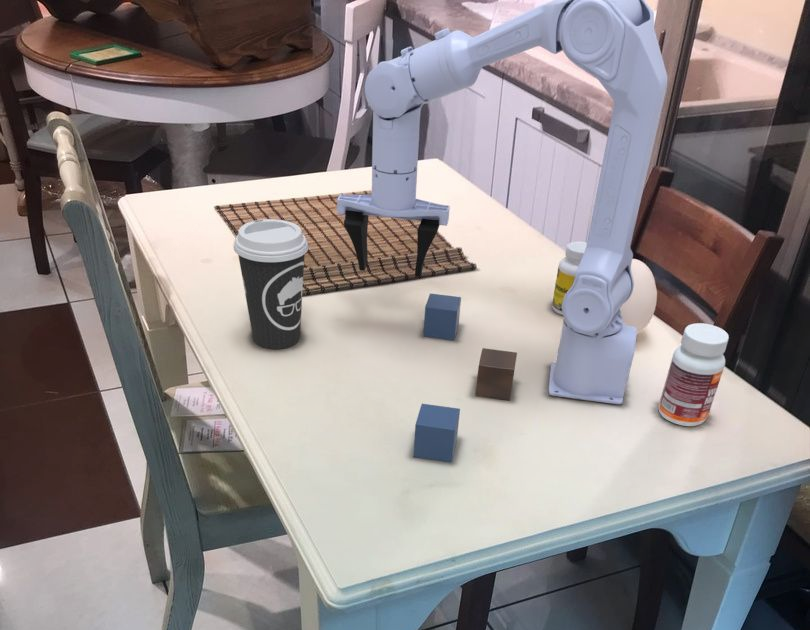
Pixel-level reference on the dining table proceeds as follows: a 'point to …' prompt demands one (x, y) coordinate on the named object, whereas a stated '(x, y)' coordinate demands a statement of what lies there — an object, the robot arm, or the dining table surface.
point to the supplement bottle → (567, 272)
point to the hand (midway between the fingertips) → (390, 270)
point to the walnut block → (495, 374)
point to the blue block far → (442, 316)
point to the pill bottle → (694, 375)
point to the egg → (640, 297)
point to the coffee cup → (272, 279)
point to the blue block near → (436, 432)
